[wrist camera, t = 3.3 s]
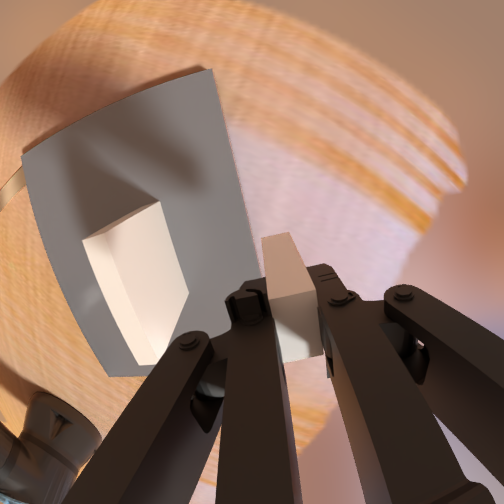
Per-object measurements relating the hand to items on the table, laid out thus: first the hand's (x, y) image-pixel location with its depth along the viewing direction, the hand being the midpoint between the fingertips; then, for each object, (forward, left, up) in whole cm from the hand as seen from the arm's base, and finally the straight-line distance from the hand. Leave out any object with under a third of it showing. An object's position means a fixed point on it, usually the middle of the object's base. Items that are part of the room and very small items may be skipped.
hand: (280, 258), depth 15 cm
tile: (-9, 0, -7) cm, 11 cm away
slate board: (-12, 0, -8) cm, 14 cm away
